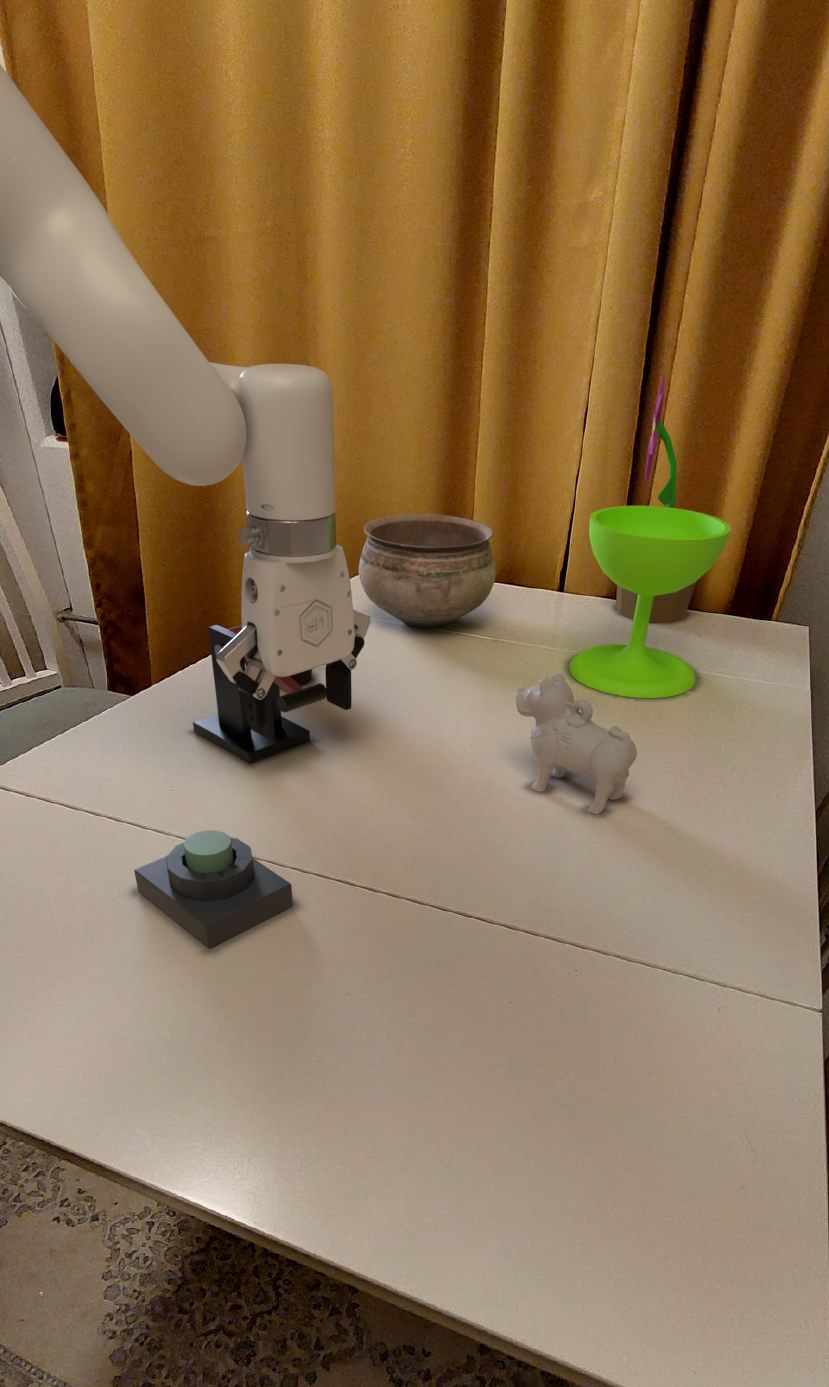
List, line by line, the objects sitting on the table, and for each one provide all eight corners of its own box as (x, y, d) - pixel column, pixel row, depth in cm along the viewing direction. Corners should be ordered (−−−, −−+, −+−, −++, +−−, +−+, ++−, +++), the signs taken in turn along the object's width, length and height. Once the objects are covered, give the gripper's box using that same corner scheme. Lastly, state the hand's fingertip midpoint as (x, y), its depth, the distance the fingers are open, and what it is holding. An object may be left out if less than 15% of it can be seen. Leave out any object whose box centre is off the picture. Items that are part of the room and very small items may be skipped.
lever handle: (325, 705, 87) (329, 685, 85) (285, 719, 84) (288, 698, 82) (254, 641, 91) (256, 621, 89) (213, 653, 88) (215, 632, 86)
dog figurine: (524, 759, 92) (536, 660, 85) (635, 798, 86) (656, 694, 79) (496, 777, 88) (505, 675, 82) (608, 819, 82) (628, 712, 76)
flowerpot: (603, 592, 138) (638, 369, 120) (696, 601, 136) (746, 374, 118) (600, 622, 127) (638, 380, 109) (702, 631, 125) (758, 387, 107)
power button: (177, 860, 68) (174, 841, 67) (215, 843, 70) (213, 825, 69) (203, 879, 66) (201, 860, 65) (242, 862, 68) (240, 843, 67)
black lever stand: (310, 740, 94) (305, 631, 86) (249, 764, 89) (238, 650, 82) (253, 711, 99) (244, 606, 92) (193, 731, 94) (179, 622, 87)
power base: (137, 892, 71) (129, 850, 68) (220, 855, 76) (215, 815, 73) (209, 949, 65) (203, 906, 63) (293, 906, 70) (290, 864, 68)
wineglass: (714, 669, 113) (751, 520, 102) (665, 709, 103) (699, 548, 92) (602, 641, 121) (625, 499, 110) (545, 675, 110) (564, 522, 99)
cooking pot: (505, 652, 116) (514, 555, 109) (363, 652, 115) (362, 554, 107) (478, 593, 136) (484, 508, 128) (356, 593, 134) (355, 507, 127)
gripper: (235, 561, 69) (253, 758, 79) (394, 527, 79) (391, 707, 89) (182, 541, 73) (205, 731, 83) (339, 511, 83) (342, 685, 93)
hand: (301, 718), depth 86 cm, fingers open, 9 cm apart
